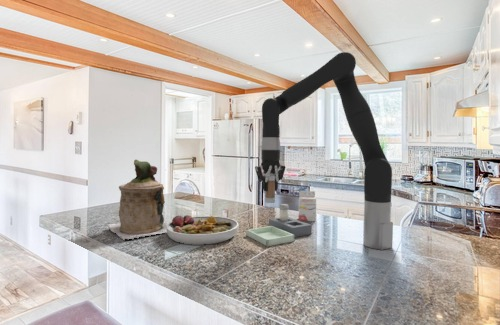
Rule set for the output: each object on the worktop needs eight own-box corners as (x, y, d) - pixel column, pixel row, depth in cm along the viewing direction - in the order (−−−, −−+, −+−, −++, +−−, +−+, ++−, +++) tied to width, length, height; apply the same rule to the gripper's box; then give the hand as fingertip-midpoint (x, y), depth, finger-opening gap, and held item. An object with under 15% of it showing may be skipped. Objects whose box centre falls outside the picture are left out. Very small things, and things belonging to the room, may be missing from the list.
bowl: (246, 229, 137) (246, 212, 136) (223, 250, 108) (223, 229, 108) (187, 224, 145) (187, 208, 144) (151, 243, 116) (151, 224, 116)
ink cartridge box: (299, 220, 151) (299, 192, 150) (298, 218, 156) (298, 190, 155) (316, 221, 150) (316, 192, 149) (315, 219, 155) (315, 191, 154)
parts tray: (294, 241, 118) (294, 234, 118) (267, 246, 112) (267, 240, 112) (271, 231, 132) (271, 225, 132) (246, 235, 126) (246, 229, 125)
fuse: (290, 228, 136) (290, 205, 135) (283, 230, 134) (283, 206, 133) (284, 226, 139) (285, 203, 139) (277, 228, 137) (278, 204, 137)
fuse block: (311, 233, 128) (311, 224, 128) (293, 237, 123) (293, 227, 123) (286, 224, 144) (286, 216, 143) (268, 227, 139) (268, 218, 138)
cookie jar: (123, 242, 117) (121, 161, 115) (106, 229, 135) (104, 159, 134) (180, 231, 133) (179, 159, 131) (158, 220, 151) (157, 158, 150)
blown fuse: (276, 202, 121) (277, 175, 121) (268, 203, 119) (268, 176, 119) (271, 200, 125) (271, 174, 124) (263, 201, 123) (263, 175, 122)
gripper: (260, 148, 114) (260, 193, 115) (290, 149, 121) (289, 190, 122) (251, 148, 121) (250, 190, 121) (279, 148, 127) (279, 188, 128)
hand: (270, 190), depth 122 cm, fingers closed on blown fuse, 4 cm apart
